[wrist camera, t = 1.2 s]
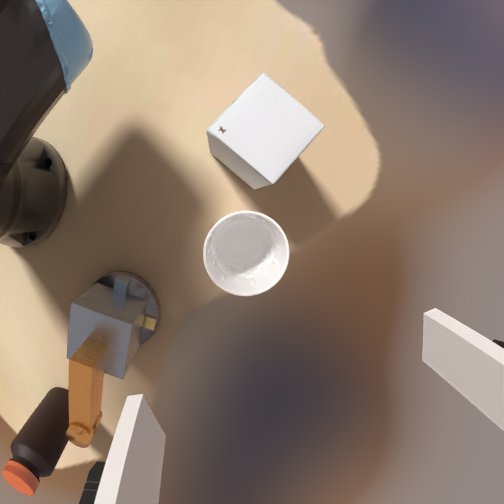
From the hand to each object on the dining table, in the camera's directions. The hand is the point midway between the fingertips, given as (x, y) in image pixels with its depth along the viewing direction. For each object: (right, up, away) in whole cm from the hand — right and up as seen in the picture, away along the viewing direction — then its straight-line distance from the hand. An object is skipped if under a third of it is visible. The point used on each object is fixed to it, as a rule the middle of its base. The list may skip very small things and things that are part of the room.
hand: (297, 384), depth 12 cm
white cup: (-3, +7, +26) cm, 27 cm away
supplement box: (-2, +18, +24) cm, 30 cm away
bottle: (-33, -19, +27) cm, 47 cm away
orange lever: (-19, -5, +23) cm, 31 cm away
